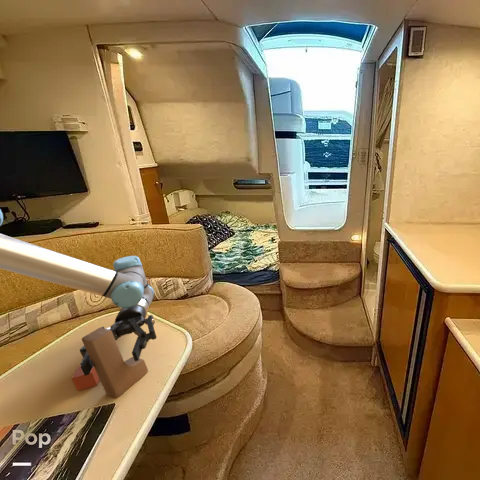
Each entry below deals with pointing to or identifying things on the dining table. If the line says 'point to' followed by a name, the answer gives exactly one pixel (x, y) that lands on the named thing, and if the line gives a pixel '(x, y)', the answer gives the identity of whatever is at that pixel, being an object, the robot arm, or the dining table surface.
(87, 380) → the cube row
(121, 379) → the wooden block
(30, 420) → the dining table surface
